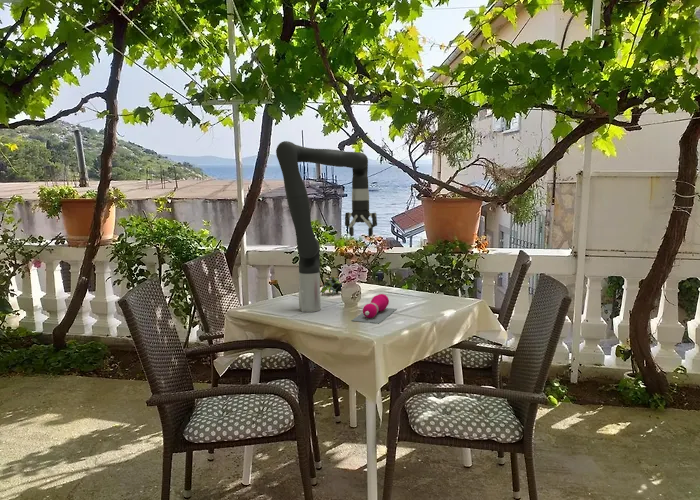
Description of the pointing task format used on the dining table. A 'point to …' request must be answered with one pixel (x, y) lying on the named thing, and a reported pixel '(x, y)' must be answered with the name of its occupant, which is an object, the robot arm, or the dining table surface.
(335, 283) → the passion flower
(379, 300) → the pepper mill
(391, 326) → the dining table surface
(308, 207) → the robot arm
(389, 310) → the mat
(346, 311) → the dining table surface
